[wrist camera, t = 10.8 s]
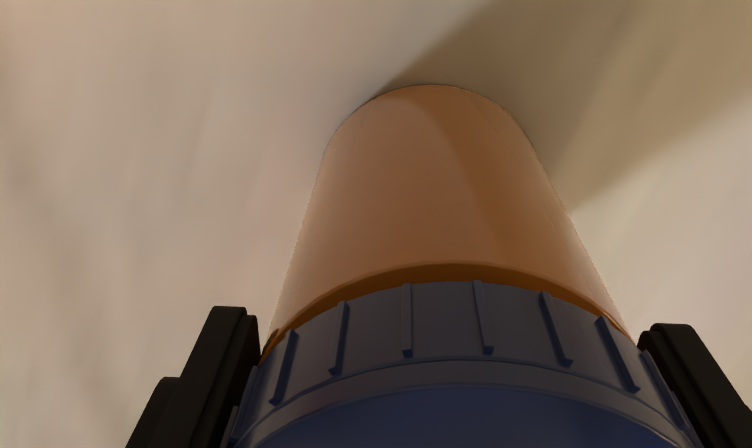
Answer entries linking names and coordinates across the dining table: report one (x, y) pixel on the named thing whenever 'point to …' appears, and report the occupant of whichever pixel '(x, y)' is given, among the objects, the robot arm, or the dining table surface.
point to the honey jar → (433, 210)
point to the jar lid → (457, 377)
